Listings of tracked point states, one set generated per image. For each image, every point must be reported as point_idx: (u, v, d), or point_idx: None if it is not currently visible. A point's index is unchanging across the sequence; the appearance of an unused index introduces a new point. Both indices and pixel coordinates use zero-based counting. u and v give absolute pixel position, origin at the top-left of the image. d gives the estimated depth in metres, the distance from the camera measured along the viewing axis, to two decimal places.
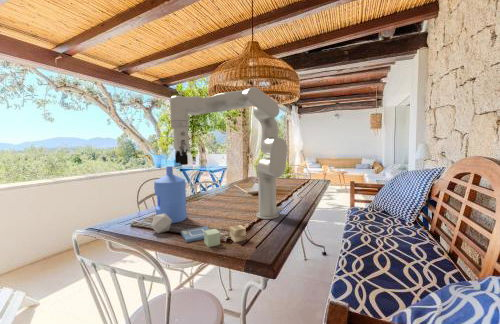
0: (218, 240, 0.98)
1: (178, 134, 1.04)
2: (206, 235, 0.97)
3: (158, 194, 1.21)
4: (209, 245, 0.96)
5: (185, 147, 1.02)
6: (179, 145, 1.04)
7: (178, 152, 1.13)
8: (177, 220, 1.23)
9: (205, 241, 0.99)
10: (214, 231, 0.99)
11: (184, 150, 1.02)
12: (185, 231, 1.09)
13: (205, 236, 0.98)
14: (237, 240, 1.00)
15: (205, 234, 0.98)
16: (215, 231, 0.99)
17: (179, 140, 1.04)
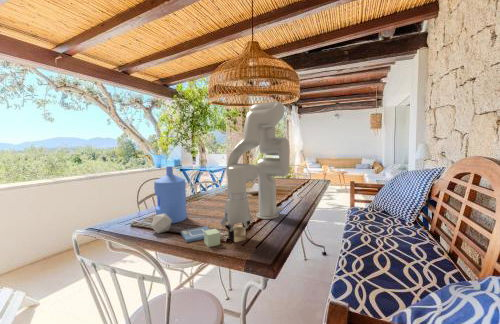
0: (218, 240, 0.98)
1: (248, 205, 1.02)
2: (206, 235, 0.97)
3: (158, 194, 1.21)
4: (209, 245, 0.96)
5: None
6: (248, 218, 1.03)
7: None
8: (177, 220, 1.23)
9: (205, 241, 0.99)
10: (214, 231, 0.99)
11: None
12: (185, 231, 1.09)
13: (205, 236, 0.98)
14: (237, 240, 1.00)
15: (205, 234, 0.98)
16: (215, 231, 0.99)
17: None
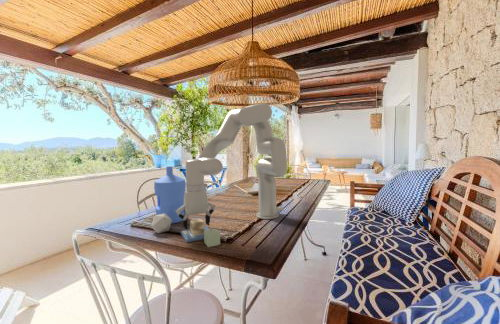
0: (218, 240, 0.98)
1: (206, 196, 1.07)
2: (206, 235, 0.97)
3: (158, 194, 1.21)
4: (209, 245, 0.96)
5: None
6: None
7: None
8: (177, 220, 1.23)
9: (205, 241, 0.99)
10: (214, 231, 0.99)
11: None
12: (185, 231, 1.09)
13: (205, 236, 0.98)
14: (195, 233, 1.05)
15: (205, 234, 0.98)
16: (215, 231, 0.99)
17: (207, 202, 1.07)
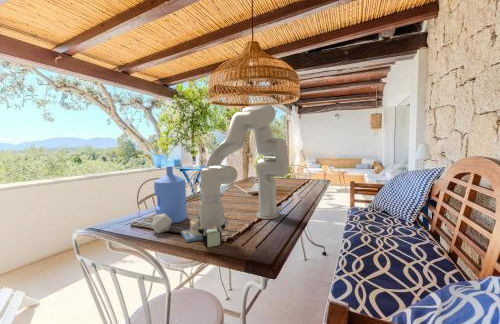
0: (218, 240, 0.98)
1: None
2: None
3: (158, 194, 1.21)
4: (209, 245, 0.96)
5: None
6: None
7: None
8: (177, 220, 1.23)
9: None
10: (214, 231, 0.99)
11: None
12: (185, 231, 1.09)
13: None
14: (195, 233, 1.05)
15: None
16: (215, 231, 0.99)
17: None
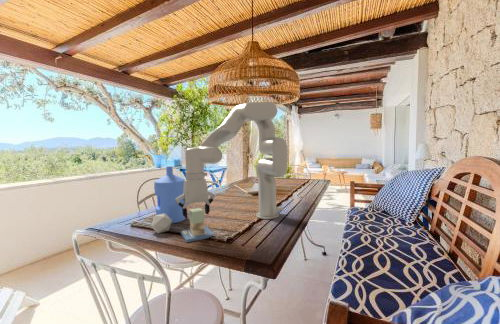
0: (202, 218, 1.06)
1: (206, 185, 1.06)
2: (191, 213, 1.05)
3: (158, 194, 1.21)
4: (193, 222, 1.04)
5: None
6: (207, 196, 1.07)
7: None
8: (177, 220, 1.23)
9: (190, 219, 1.07)
10: (198, 210, 1.07)
11: None
12: (185, 231, 1.09)
13: (190, 214, 1.06)
14: (195, 233, 1.05)
15: (190, 212, 1.06)
16: (200, 210, 1.07)
17: (207, 191, 1.07)
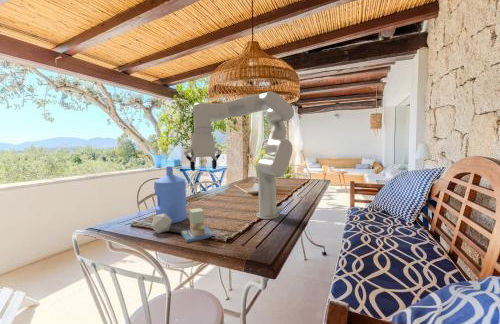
0: (202, 218, 1.06)
1: (213, 140, 1.10)
2: (191, 213, 1.05)
3: (158, 194, 1.21)
4: (193, 222, 1.04)
5: None
6: (214, 151, 1.11)
7: None
8: (177, 220, 1.23)
9: (190, 219, 1.07)
10: (198, 210, 1.07)
11: None
12: (185, 231, 1.09)
13: (190, 214, 1.06)
14: (195, 233, 1.05)
15: (190, 212, 1.06)
16: (200, 210, 1.07)
17: (214, 146, 1.10)
